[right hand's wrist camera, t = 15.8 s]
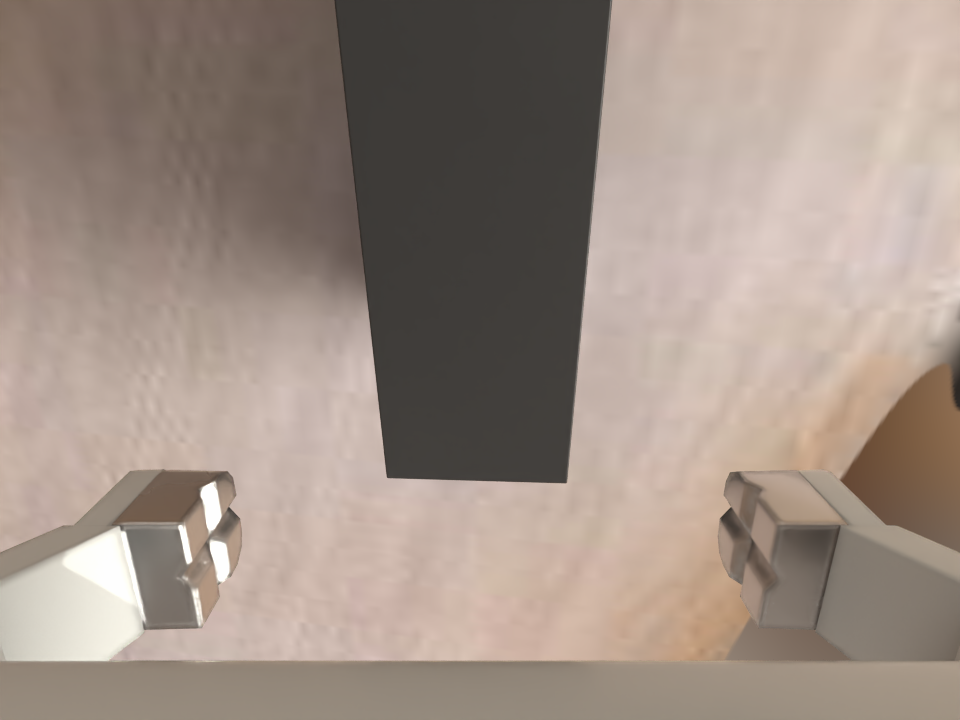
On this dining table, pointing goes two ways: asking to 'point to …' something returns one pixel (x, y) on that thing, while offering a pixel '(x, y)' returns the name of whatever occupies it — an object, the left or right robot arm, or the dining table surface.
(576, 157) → the box
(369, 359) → the dining table surface
